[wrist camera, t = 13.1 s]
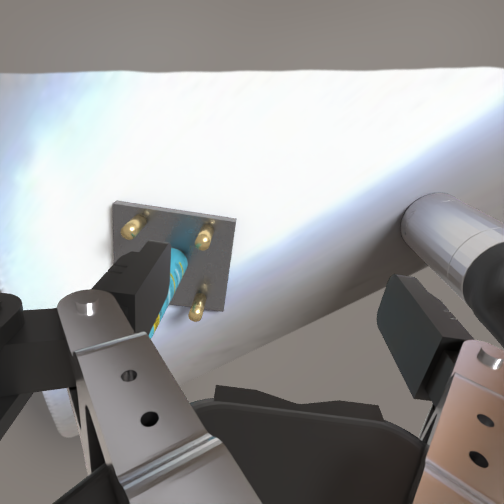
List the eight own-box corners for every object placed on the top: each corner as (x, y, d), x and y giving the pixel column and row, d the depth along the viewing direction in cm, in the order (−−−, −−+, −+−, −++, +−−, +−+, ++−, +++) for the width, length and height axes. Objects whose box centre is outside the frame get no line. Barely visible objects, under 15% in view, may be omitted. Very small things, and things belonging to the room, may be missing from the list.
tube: (191, 281, 54) (158, 369, 37) (161, 282, 54) (114, 370, 37) (184, 238, 51) (144, 312, 34) (152, 239, 51) (96, 314, 34)
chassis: (236, 218, 51) (233, 234, 45) (224, 306, 58) (220, 330, 52) (116, 200, 50) (97, 214, 44) (118, 291, 57) (101, 314, 51)
